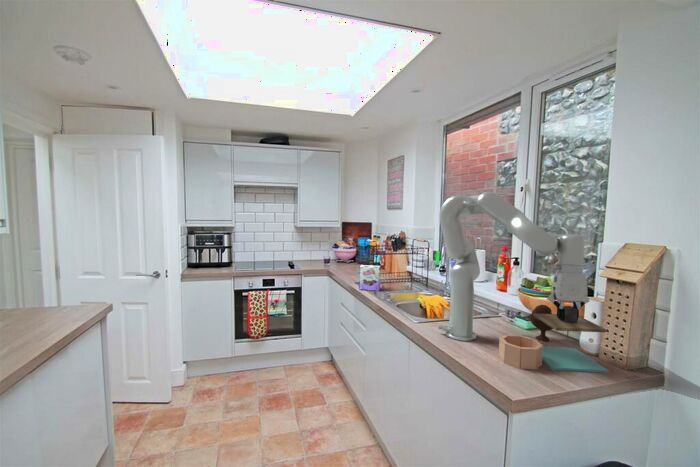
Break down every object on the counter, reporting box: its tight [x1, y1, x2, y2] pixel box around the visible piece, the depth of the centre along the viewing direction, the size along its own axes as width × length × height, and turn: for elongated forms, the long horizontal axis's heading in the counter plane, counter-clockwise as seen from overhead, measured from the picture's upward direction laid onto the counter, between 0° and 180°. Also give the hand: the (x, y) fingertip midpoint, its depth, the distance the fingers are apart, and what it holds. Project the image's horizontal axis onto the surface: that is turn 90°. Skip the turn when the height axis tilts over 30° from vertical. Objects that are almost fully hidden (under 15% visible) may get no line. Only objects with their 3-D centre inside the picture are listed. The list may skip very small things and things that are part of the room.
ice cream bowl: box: [529, 304, 554, 343], centre depth 136 cm, size 11×11×15 cm
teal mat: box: [542, 346, 609, 374], centre depth 118 cm, size 18×18×1 cm
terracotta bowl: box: [498, 334, 544, 370], centre depth 116 cm, size 13×13×7 cm
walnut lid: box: [533, 305, 608, 333], centre depth 117 cm, size 16×16×6 cm
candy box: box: [358, 264, 381, 292], centre depth 220 cm, size 14×6×16 cm, turn 80°
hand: (567, 318), depth 117 cm, fingers closed on walnut lid, 4 cm apart
